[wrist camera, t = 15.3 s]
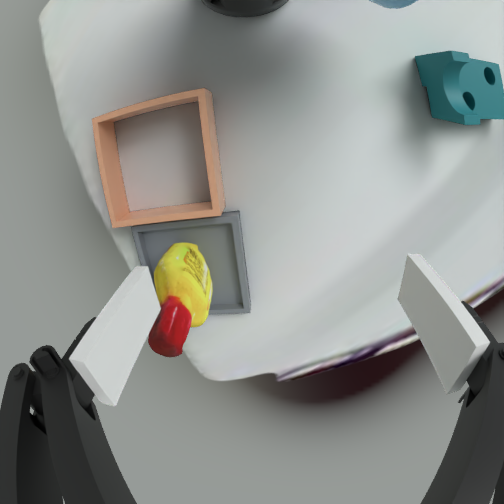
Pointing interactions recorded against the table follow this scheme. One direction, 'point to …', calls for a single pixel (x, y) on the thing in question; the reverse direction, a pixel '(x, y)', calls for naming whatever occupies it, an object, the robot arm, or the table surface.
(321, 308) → the table surface
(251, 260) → the table surface
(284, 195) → the table surface
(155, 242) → the tray
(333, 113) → the table surface
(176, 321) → the bottle
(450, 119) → the teal l-shaped bracket
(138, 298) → the robot arm
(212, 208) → the holder
